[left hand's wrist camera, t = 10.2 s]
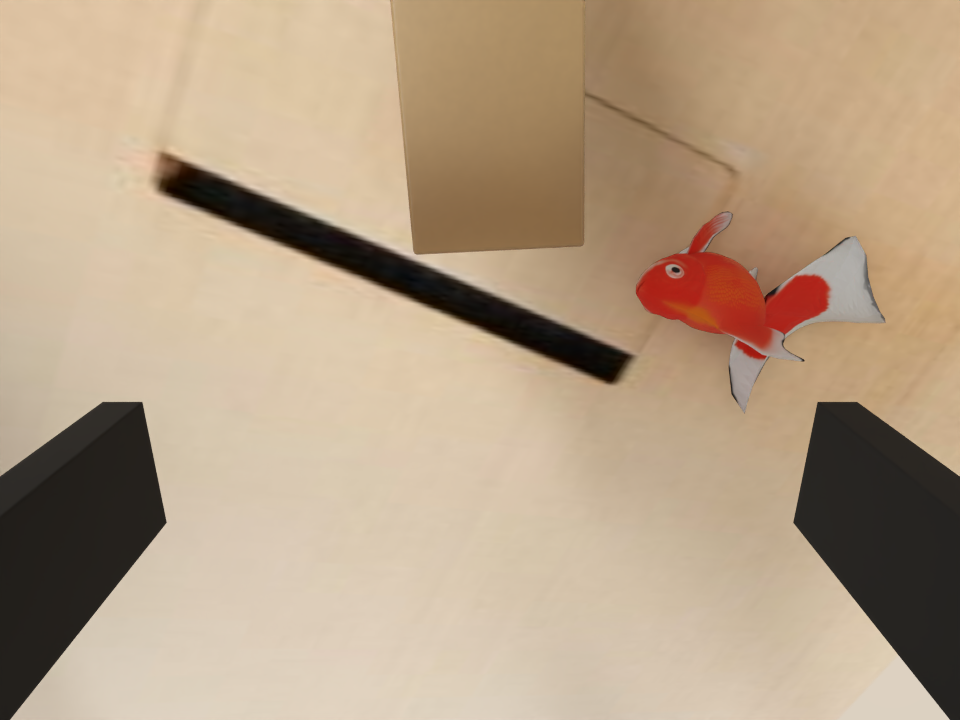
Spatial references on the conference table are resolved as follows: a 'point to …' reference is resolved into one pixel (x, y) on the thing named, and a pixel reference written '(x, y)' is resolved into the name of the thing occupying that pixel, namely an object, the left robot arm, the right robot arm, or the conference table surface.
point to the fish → (756, 299)
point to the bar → (492, 122)
